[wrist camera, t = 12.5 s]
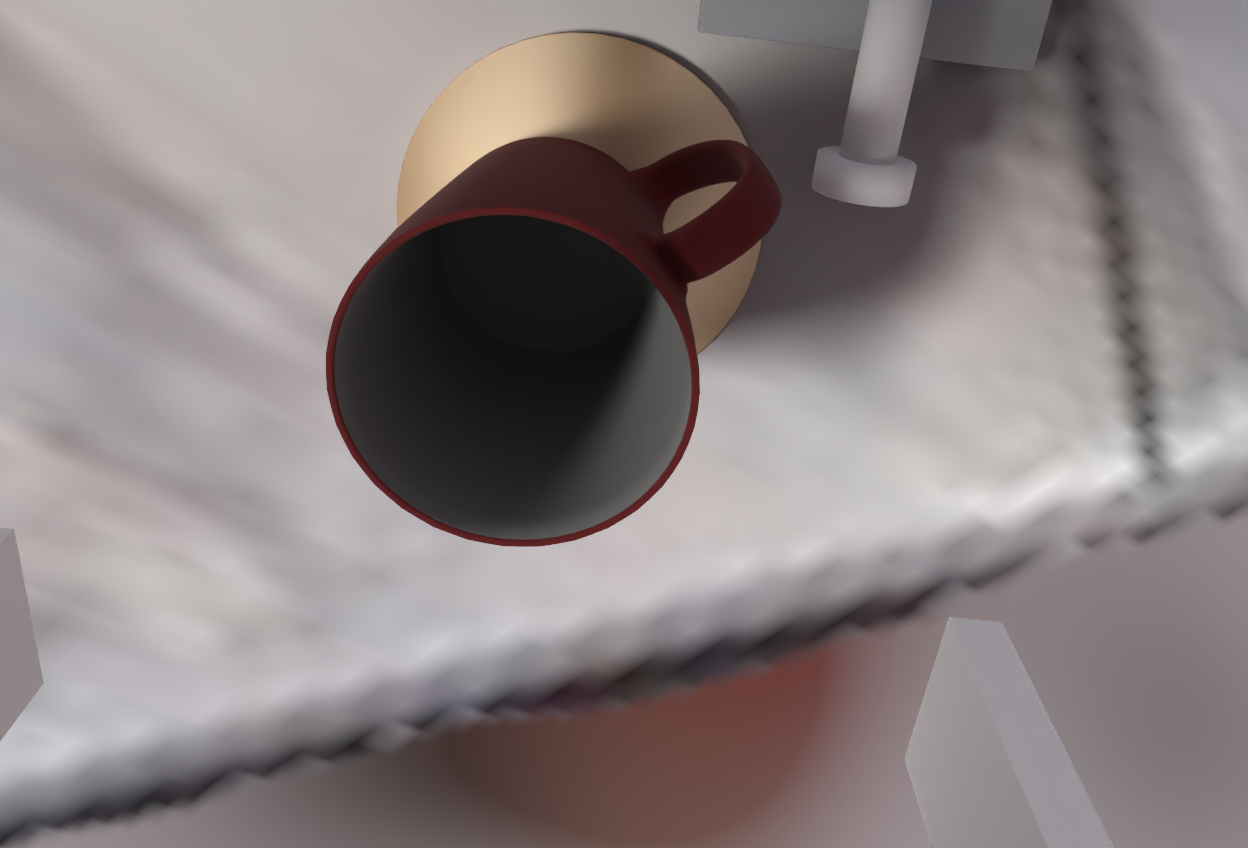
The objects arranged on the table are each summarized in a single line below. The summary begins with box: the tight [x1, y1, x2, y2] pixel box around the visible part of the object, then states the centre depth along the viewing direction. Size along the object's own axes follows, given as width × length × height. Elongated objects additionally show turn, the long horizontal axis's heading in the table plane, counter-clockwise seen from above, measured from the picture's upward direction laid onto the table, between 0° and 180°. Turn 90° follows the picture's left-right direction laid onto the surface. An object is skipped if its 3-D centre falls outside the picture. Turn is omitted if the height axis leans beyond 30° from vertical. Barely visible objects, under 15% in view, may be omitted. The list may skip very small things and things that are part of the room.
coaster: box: [397, 32, 761, 353], centre depth 34 cm, size 12×12×1 cm
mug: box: [326, 137, 781, 546], centre depth 29 cm, size 12×9×11 cm
